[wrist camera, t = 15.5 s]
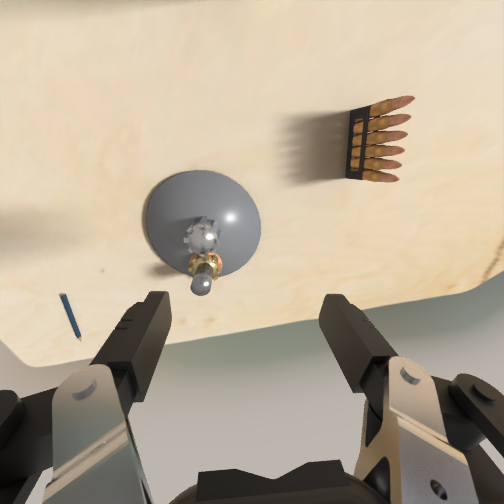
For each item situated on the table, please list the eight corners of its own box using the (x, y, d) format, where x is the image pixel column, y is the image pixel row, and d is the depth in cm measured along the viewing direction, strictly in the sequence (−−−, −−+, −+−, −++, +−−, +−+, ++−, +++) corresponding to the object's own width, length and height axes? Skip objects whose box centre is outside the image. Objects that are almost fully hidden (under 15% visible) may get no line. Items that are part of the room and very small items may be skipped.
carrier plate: (138, 164, 33) (120, 166, 28) (266, 175, 36) (271, 178, 30) (155, 274, 43) (144, 291, 38) (255, 276, 45) (258, 292, 40)
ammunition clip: (355, 176, 37) (403, 185, 27) (345, 178, 37) (390, 188, 27) (361, 108, 32) (424, 86, 22) (350, 110, 32) (408, 88, 22)
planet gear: (189, 250, 40) (180, 272, 33) (221, 252, 40) (219, 272, 33) (191, 277, 43) (183, 302, 35) (221, 277, 43) (218, 302, 36)
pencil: (66, 292, 44) (84, 339, 50) (61, 292, 43) (79, 339, 50) (63, 295, 43) (81, 342, 49) (58, 295, 43) (77, 342, 49)
